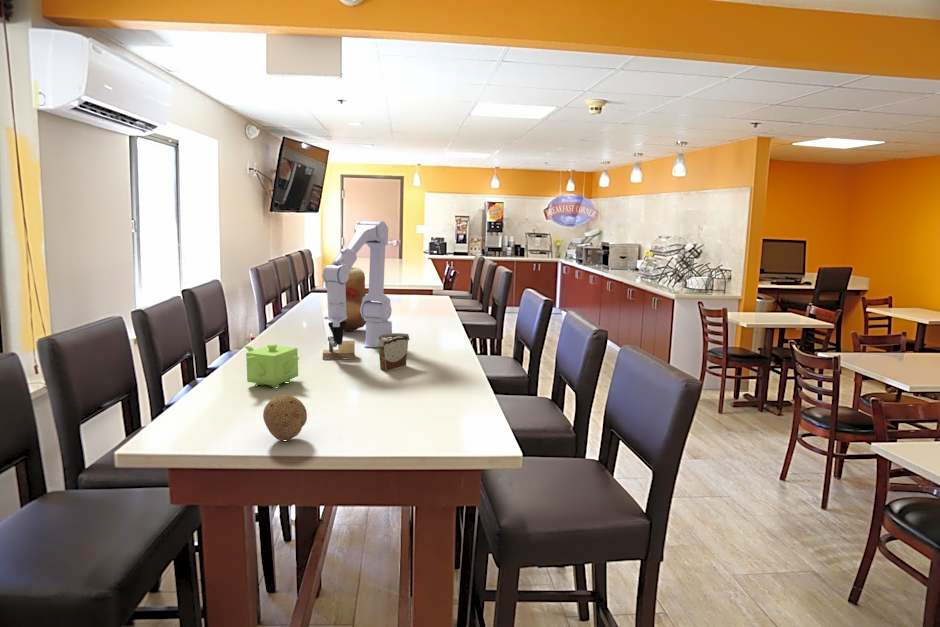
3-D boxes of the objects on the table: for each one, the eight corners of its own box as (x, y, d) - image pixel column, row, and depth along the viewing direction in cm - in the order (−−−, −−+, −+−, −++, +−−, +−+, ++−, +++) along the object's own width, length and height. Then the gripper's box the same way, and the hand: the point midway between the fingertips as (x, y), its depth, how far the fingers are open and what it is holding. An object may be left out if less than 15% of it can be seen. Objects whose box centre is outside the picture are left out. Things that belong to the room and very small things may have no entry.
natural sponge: (280, 429, 143) (279, 387, 141) (315, 434, 140) (314, 391, 139) (255, 444, 134) (254, 399, 133) (292, 450, 132) (291, 403, 130)
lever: (338, 347, 199) (338, 342, 199) (331, 347, 198) (331, 342, 198) (333, 340, 208) (333, 335, 208) (327, 340, 208) (327, 336, 207)
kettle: (248, 394, 168) (246, 352, 166) (241, 380, 181) (239, 341, 179) (305, 387, 175) (304, 347, 173) (295, 374, 187) (293, 337, 185)
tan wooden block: (354, 349, 211) (354, 340, 211) (354, 353, 206) (354, 343, 206) (339, 349, 211) (339, 340, 210) (338, 353, 206) (338, 344, 205)
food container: (394, 361, 205) (394, 331, 203) (409, 364, 201) (409, 333, 200) (367, 369, 195) (367, 337, 193) (382, 372, 191) (382, 340, 190)
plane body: (355, 355, 212) (355, 339, 211) (354, 358, 207) (354, 342, 206) (323, 355, 210) (323, 339, 209) (322, 359, 205) (321, 343, 204)
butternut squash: (332, 335, 242) (331, 269, 237) (331, 328, 254) (330, 265, 250) (369, 334, 245) (369, 269, 240) (366, 327, 258) (366, 265, 253)
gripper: (325, 298, 208) (327, 339, 210) (322, 307, 194) (323, 350, 196) (347, 298, 209) (348, 338, 211) (345, 306, 195) (347, 349, 197)
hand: (338, 344), depth 204 cm, fingers closed, pressing on lever
